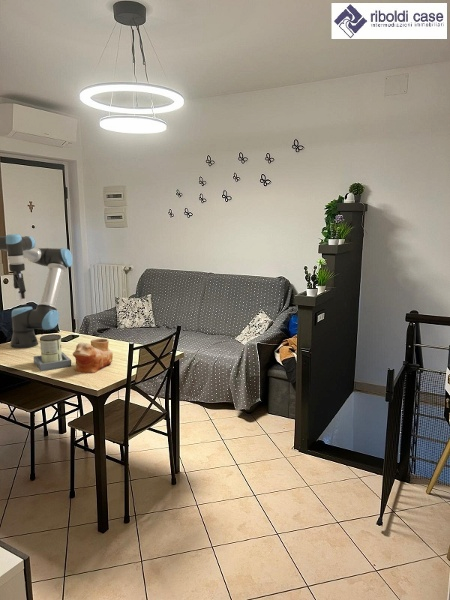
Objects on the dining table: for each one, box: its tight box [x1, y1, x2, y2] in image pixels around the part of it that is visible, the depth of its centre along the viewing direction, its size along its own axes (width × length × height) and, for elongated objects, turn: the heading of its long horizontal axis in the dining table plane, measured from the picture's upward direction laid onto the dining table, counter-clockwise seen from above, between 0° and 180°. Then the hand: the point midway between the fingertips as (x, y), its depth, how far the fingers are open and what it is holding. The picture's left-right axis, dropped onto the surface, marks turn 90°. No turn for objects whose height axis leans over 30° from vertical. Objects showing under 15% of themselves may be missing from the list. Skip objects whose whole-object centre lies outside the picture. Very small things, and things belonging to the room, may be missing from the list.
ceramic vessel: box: [72, 338, 114, 374], centre depth 229 cm, size 14×26×15 cm, turn 161°
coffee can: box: [39, 333, 63, 363], centre depth 233 cm, size 10×10×14 cm
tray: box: [33, 351, 72, 372], centre depth 234 cm, size 17×15×4 cm
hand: (21, 302), depth 242 cm, fingers open, 13 cm apart
